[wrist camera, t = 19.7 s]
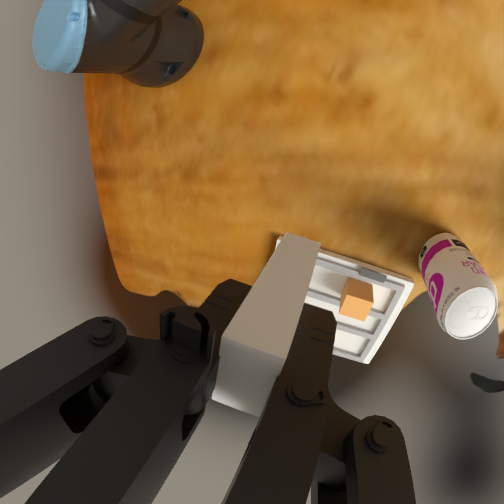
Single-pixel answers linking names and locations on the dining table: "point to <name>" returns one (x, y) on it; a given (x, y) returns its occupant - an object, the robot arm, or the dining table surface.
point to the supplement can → (457, 286)
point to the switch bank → (381, 314)
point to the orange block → (356, 299)
